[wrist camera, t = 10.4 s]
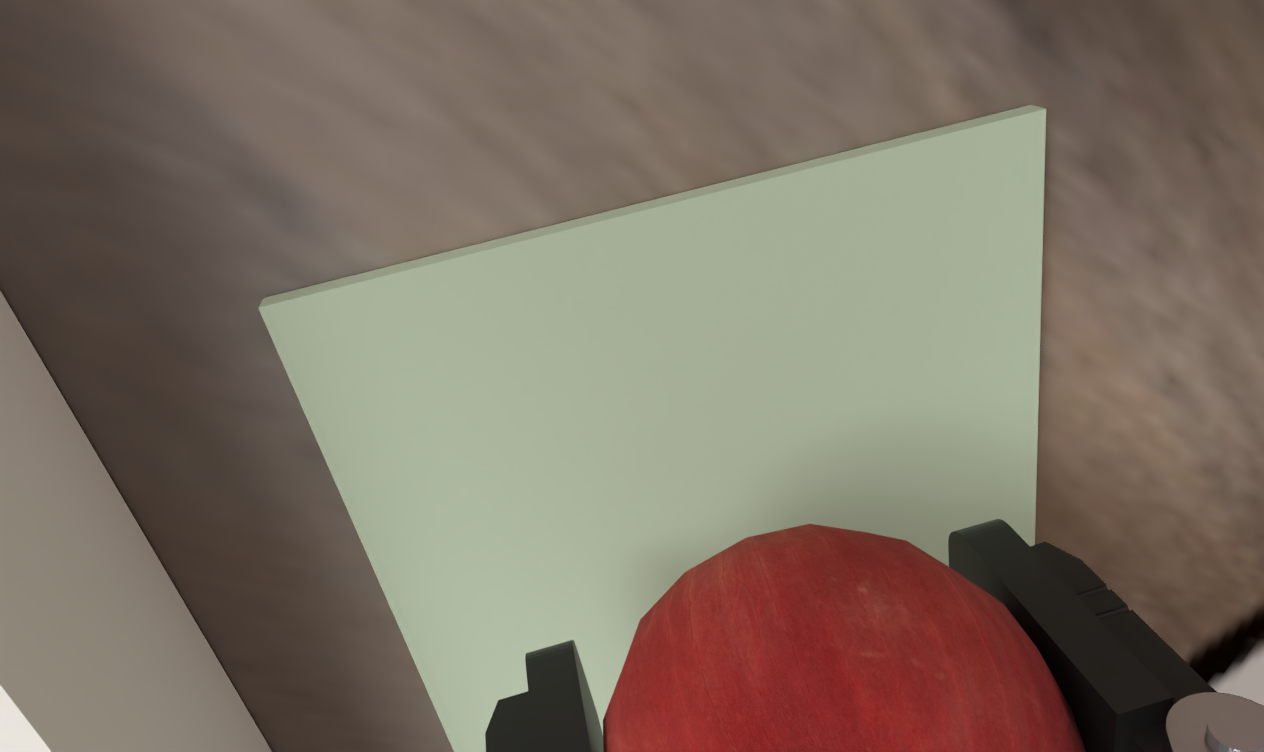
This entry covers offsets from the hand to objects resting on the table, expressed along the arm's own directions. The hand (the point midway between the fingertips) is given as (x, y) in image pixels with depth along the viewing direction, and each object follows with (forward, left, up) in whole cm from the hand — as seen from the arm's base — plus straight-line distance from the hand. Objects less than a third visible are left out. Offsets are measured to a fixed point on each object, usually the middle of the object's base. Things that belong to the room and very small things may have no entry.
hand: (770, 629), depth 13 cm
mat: (0, 0, -3) cm, 3 cm away
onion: (0, 0, -2) cm, 2 cm away
